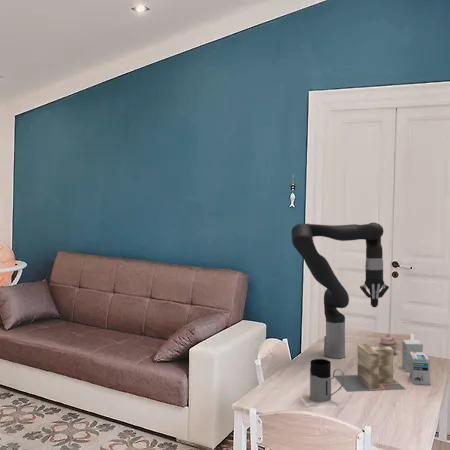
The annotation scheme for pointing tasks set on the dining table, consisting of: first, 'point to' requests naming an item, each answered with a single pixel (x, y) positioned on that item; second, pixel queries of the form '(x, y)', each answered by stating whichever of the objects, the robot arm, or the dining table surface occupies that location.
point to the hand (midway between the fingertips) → (374, 306)
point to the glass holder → (321, 380)
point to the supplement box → (407, 348)
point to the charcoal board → (356, 384)
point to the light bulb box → (419, 368)
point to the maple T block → (375, 365)
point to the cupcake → (388, 342)
